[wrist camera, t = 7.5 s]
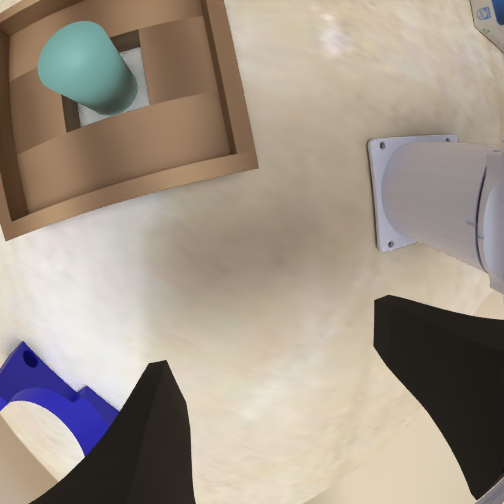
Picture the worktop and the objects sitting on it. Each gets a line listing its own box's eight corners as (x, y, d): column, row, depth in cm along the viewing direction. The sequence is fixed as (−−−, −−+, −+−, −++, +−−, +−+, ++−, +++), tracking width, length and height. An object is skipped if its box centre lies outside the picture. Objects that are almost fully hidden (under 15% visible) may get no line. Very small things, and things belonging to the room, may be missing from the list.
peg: (132, 61, 14) (104, 10, 7) (141, 105, 15) (112, 72, 8) (85, 78, 13) (36, 40, 7) (93, 122, 14) (41, 103, 8)
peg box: (203, -18, 13) (210, -57, 9) (241, 166, 17) (258, 168, 13) (17, 43, 11) (-15, 22, 7) (41, 222, 15) (5, 241, 11)
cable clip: (140, 425, 21) (137, 480, 16) (109, 440, 22) (103, 491, 16) (32, 330, 17) (-1, 379, 12) (8, 355, 17) (-21, 401, 12)
